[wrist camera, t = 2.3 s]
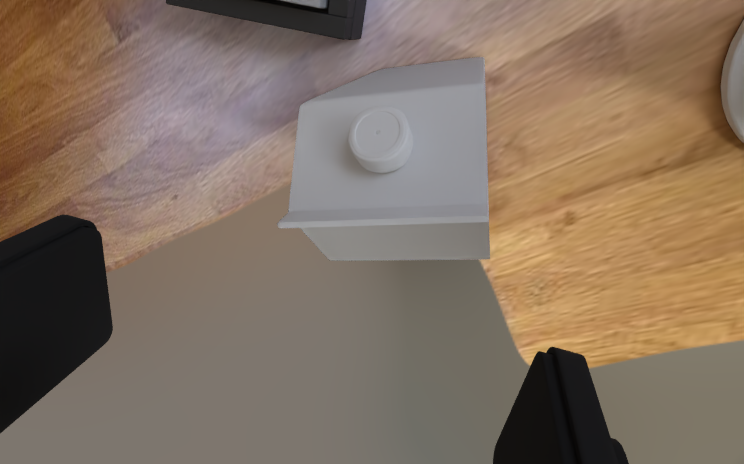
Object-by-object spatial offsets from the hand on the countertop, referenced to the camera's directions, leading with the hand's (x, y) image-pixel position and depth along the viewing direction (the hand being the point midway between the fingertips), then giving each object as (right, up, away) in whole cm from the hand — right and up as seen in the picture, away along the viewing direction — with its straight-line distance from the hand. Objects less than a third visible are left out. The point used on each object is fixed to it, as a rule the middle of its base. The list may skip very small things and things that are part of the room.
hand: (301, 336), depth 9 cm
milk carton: (+6, +10, +22) cm, 25 cm away
